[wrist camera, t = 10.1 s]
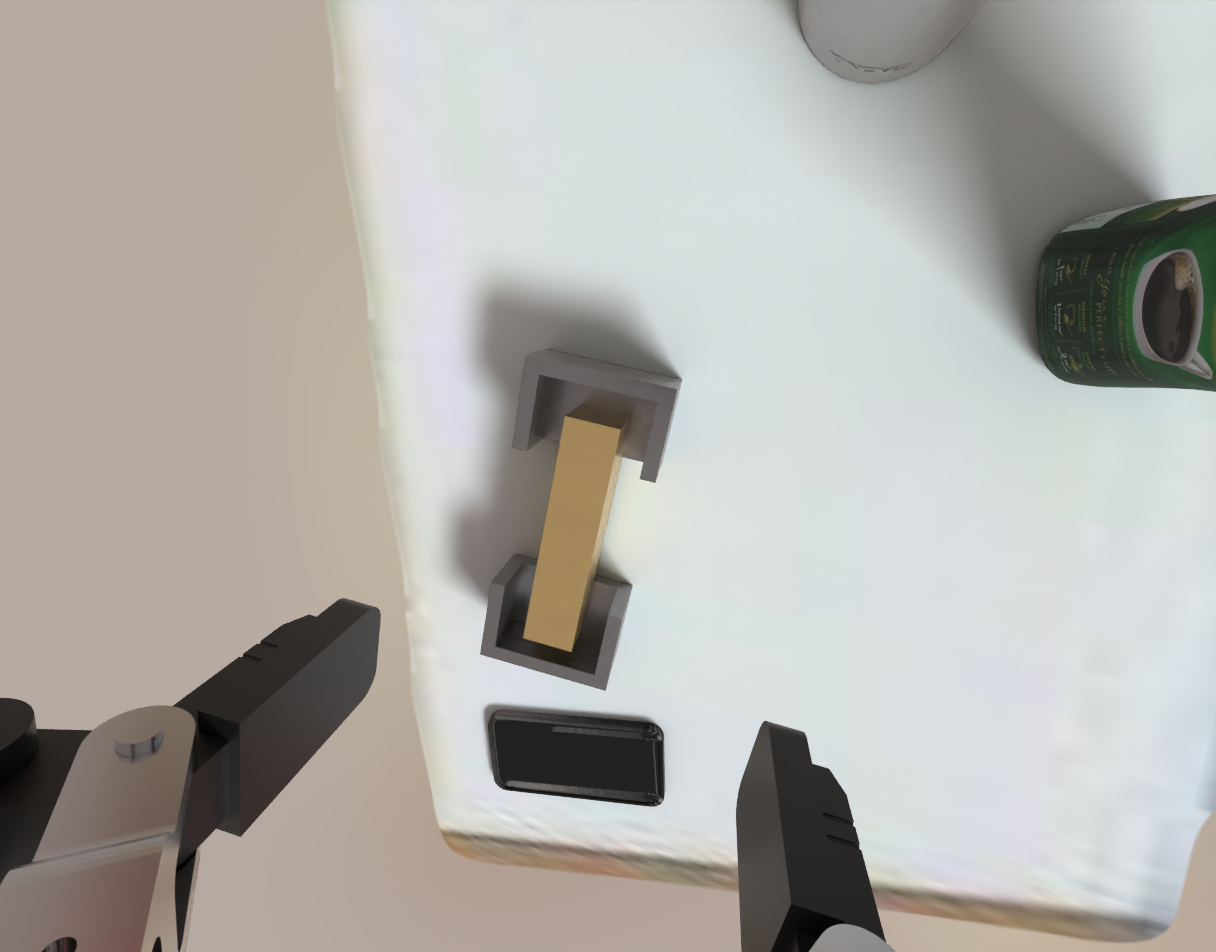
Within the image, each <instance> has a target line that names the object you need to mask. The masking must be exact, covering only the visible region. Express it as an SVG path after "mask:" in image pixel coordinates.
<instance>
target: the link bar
mask: <svg viewBox="0 0 1216 952" xmlns="http://www.w3.org/2000/svg"><path fill="white" fill-rule="evenodd" d="M631 417H632V415H629V414H625V413H621V412H617V411H613V410H609V409H605V408H601V407H597V406H593V405H588V404H584V403H582V404H581V405H579V406H578V407H577V408H575V409H574V410H572V411H571V412H570V413H568V414H567V415H566V416H565V418H564V424H563V429H562V434H561V439H560V445H559V450H558V455H557V461H556V466H555V471H554V477H553V482H552V487H551V492H550V498H549V503H548V508H547V514H546V519H545V524H544V529H543V535H542V540H541V545H540V551H539V556H538V561H537V567H536V572H535V577H534V582H533V588H532V593H531V598H530V604H529V609H528V614H527V619H526V625H525V630H524V635H523V638H525V639H528V640H532V641H535V642H538V643H542V644H545V645H549V646H552V647H556V648H559V649H562V650H566V651H569V652H572V649H573V647H574V644H575V642H576V640H577V637H578V635H579V632H580V630H581V628H582V625H583V623H584V620H585V618H586V615H587V611H588V607H589V602H590V598H591V593H592V589H593V585H594V580H595V576H596V571H597V567H598V563H599V558H600V554H601V549H602V545H603V540H604V536H605V532H606V527H607V523H608V518H609V514H610V510H611V505H612V501H613V496H614V492H615V487H616V483H617V479H618V474H619V470H620V465H621V461H622V456H623V452H624V448H625V443H626V439H627V434H628V430H629V426H630V421H631Z"/></svg>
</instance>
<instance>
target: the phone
mask: <svg viewBox="0 0 1216 952" xmlns="http://www.w3.org/2000/svg"><path fill="white" fill-rule="evenodd" d="M488 731H489V740H490V749H491V757H492V766H493V775H494V780H495V783H496V784H497V785H498V786H499V787H500V788H502V789H504V790H509V791H518V792H527V793H536V794H545V795H553V796H562V797H571V798H580V799H589V800H597V801H606V802H615V803H624V804H633V805H642V806H650V807H651V806H658V805H660V804H661V803H662V802H663V800H664V793H665V770H664V734H663V731H662V729H661V728H660V727H659V726H657V725H655V724H652V723H645V722H634V721H622V720H611V719H599V718H588V717H576V716H565V715H553V714H542V713H530V712H519V711H507V710H498V711H496V712H494V713H493V714H492V716H491V718H490V720H489V722H488Z"/></svg>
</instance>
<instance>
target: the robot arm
mask: <svg viewBox="0 0 1216 952" xmlns="http://www.w3.org/2000/svg"><path fill="white" fill-rule="evenodd" d="M986 1H987V0H798V12H799V21H800V25H801V28H802V32H803V35H804V38H805V41H806V43H807V44H808V46H809V48H810V49H811V51H812V53H813V54H814V56H815V57H816V58H817V59H818V60H819V61H820V62H821V63H822V64H823V65H824V66H825V67H826V68H827V69H828V70H830V71H831V72H833V73H835V74H837V75H838V76H840V77H842V78H845V79H848V80H852V81H855V82H859V83H880V82H885V81H891V80H895V79H898V78H900V77H903V76H905V75H908V74H910V73H913V72H914V71H916V70H917V69H919V68H920V67H922V66H923V65H925V64H927V63H928V62H930V61H931V60H932V59H933V58H934V57H935V56H936V55H937V54H938V53H940V52H941V51H942V50H943V49H944V48H945V47H946V46H947V45H948V44H949V43H950V41H951V40H952V39H953V38H954V37H955V36H956V35H957V34H958V32H959V31H960V30H961V29H962V28H963V27H964V26H965V25H966V23H967V22H968V21H969V20H970V19H971V18H972V17H973V16H974V15H975V14H976V13H977V12H978V10H979V9H980V8H981V7H982V6H983V5H984V4H985V3H986ZM380 616H381V615H380V610H379V609H378V608H376V607H373V606H370V605H366V604H363V603H359V602H356V601H352V600H349V599H345V598H343V599H339V600H338V601H336V602H335V603H334V604H332V605H331V606H330V607H329V608H327V609H326V610H325V611H323V612H322V613H321V614H320V615H319V616H317V617H315V616H312V615H307V616H304V617H302V618H299V619H297V620H294V621H292V622H289V623H286V624H284V625H282V626H280V627H279V628H278V629H276V630H275V631H273V632H272V633H271V634H270V635H268V636H267V637H265V638H264V639H263V640H261V643H260V644H256V645H255V646H253V647H252V648H251V649H249V650H248V651H247V652H245V653H244V654H243V657H242V658H241V657H238V658H237V659H236V660H234V661H233V662H232V663H230V664H229V665H228V666H226V667H225V668H224V669H222V670H221V671H219V672H218V673H217V674H215V675H214V676H213V677H211V678H210V679H209V680H207V681H206V682H205V683H203V684H202V685H200V686H199V687H198V688H196V689H195V690H194V691H192V692H191V693H190V694H188V695H187V696H186V697H184V698H183V699H182V700H180V701H179V702H178V703H176V704H175V705H174V706H149V707H144V708H138V709H135V710H131V711H128V712H125V713H123V714H120V715H117V716H115V717H114V718H111V719H109V720H108V721H106V722H104V723H103V724H101V725H99V726H98V727H97V728H95V729H94V730H93V731H90V730H89V731H88V730H54V729H36V723H35V717H34V711H33V709H32V707H31V706H30V705H28V704H27V703H26V702H23V701H21V700H17V699H11V698H0V952H186V947H187V940H188V933H189V927H190V920H191V914H192V907H193V900H194V893H195V887H196V880H197V873H198V867H199V861H200V845H201V844H202V843H203V842H204V841H205V839H207V837H208V836H209V835H210V834H211V833H212V832H213V831H214V830H215V829H219V830H222V831H226V832H228V833H231V834H234V835H237V836H240V837H241V836H242V835H243V833H244V832H245V831H246V830H247V829H248V828H249V827H250V826H251V825H252V823H253V822H254V821H255V820H256V819H257V818H258V817H259V816H260V814H261V813H262V812H263V811H264V810H265V809H266V808H267V807H268V806H269V804H270V803H271V802H272V801H273V800H274V799H275V798H276V797H277V795H278V794H279V793H280V792H281V791H282V790H283V789H284V787H285V786H286V785H287V784H288V783H289V782H290V781H291V780H292V779H293V777H294V776H295V775H296V774H297V773H298V772H299V771H300V769H301V768H302V767H303V766H304V765H305V764H306V763H307V762H308V761H309V760H310V758H311V757H312V756H313V755H314V754H315V753H316V752H317V751H318V749H319V748H320V747H321V746H322V745H323V744H324V742H326V740H327V739H328V738H329V737H330V736H331V735H332V734H333V733H334V731H335V730H336V729H337V728H338V727H339V726H340V725H341V724H342V723H343V721H344V720H345V719H346V718H347V717H348V716H349V714H351V712H352V711H353V710H354V709H355V708H356V707H357V706H358V705H359V703H360V702H361V701H362V700H363V699H364V697H365V696H366V694H367V693H368V691H369V689H370V687H371V684H372V682H373V680H374V677H375V673H376V665H377V654H378V642H379V630H380ZM853 822H854V821H853V818H852V814H851V810H850V806H849V803H848V799H847V795H846V794H845V792H844V791H843V789H842V788H841V786H840V785H839V783H838V782H837V780H836V779H835V777H834V776H833V774H832V773H831V771H830V770H829V769H828V768H824V767H821V766H818V765H814V764H812V761H811V756H810V752H809V747H808V742H807V738H806V735H805V733H804V732H802V731H799V730H795V729H792V728H788V727H785V726H781V725H778V724H774V723H771V722H767V721H764V722H763V723H762V725H761V727H760V730H759V732H758V735H757V738H756V741H755V744H754V746H753V749H752V752H751V755H750V758H749V761H748V763H747V766H746V769H745V772H744V775H743V777H742V780H741V784H740V788H739V793H738V799H737V808H736V826H737V850H738V875H739V898H740V922H741V947H742V952H895V951H894V949H893V948H891V946H889V945H888V944H887V943H886V940H885V937H884V933H883V930H882V926H881V922H880V918H879V915H878V911H877V907H876V903H875V900H874V896H873V892H872V889H871V885H870V881H869V877H868V874H867V870H866V866H865V862H864V859H863V855H862V851H861V850H860V849H859V840H858V836H857V832H856V829H855V827H853Z"/></svg>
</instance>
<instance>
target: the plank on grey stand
mask: <svg viewBox="0 0 1216 952" xmlns="http://www.w3.org/2000/svg"><path fill="white" fill-rule="evenodd" d="M681 381H682V379H677V378H673V377H669V376H664V375H660V374H655V373H651V372H646V371H642V370H638V369H633V368H629V367H624V366H620V365H615V364H611V363H607V362H602V361H598V360H593V359H589V358H584V357H580V356H576V355H571V354H567V353H562V352H558V351H554V350H549V349H548V350H544V351H539V352H535V353H531V354H527V355H526V359H525V365H524V372H523V378H522V385H521V391H520V398H519V404H518V411H517V417H516V424H515V431H514V437H513V444H512V448H517V449H521V450H525V451H527V450H529V449H530V448H531V447H533V446H534V445H535V444H536V443H538V442H539V441H540V440H542V439H543V438H547V439H551V440H555V441H559V442H560V439H561V434H562V429H563V424H564V418H565V416H566V415H567V414H568V413H570V412H571V411H572V410H574V409H575V408H577V407H578V406H579V405H581V404H582V403H584V404H588V405H593V406H597V407H601V408H605V409H609V410H613V411H617V412H621V413H625V414H629V415H632V417H631V421H630V426H629V430H628V434H627V439H626V443H625V448H624V452H623V456H622V457H625V458H629V459H633V460H637V461H641V462H644V463H643V467H642V471H641V476H640V479H642V480H646V481H650V482H654V483H655V482H656V479H657V476H658V473H659V470H660V467H661V464H662V460H663V456H664V452H665V448H666V444H667V440H668V435H669V431H670V427H671V423H672V419H673V415H674V410H675V406H676V402H677V398H678V394H679V390H680V386H681ZM537 561H538V560H536V559H532V558H528V557H525V556H521V555H517V554H514V555H513V556H512V558H511V559H510V560H509V561H508V563H507V564H506V565H505V566H504V568H503V569H502V570H501V571H500V572H499V574H498V575H497V576H496V577H495V579H494V580H493V581H492V582H491V587H490V594H489V600H488V607H487V613H486V620H485V626H484V633H483V639H482V646H481V653H480V654H481V655H484V656H488V657H491V658H494V659H498V660H501V661H505V662H508V663H512V664H515V665H519V666H522V667H526V668H529V669H532V670H536V671H539V672H543V673H546V674H550V675H553V676H557V677H560V678H564V679H567V680H570V681H574V682H577V683H581V684H584V685H588V686H591V687H595V688H598V689H601V690H605V691H606V687H607V684H608V680H609V676H610V673H611V669H612V666H613V662H614V659H615V655H616V652H617V648H618V643H619V639H620V635H621V631H622V627H623V623H624V619H625V614H626V610H627V606H628V602H629V598H630V594H631V589H632V585H629V584H625V583H622V582H618V581H614V580H611V579H607V578H603V577H599V576H595V580H594V585H593V589H592V593H591V598H590V602H589V607H588V611H587V615H586V618H585V620H584V623H583V625H582V628H581V630H580V632H579V635H578V637H577V640H576V642H575V644H574V647H573V649H572V652H569V651H566V650H562V649H559V648H556V647H552V646H549V645H545V644H542V643H538V642H535V641H532V640H528V639H525V638H523V635H524V630H525V625H526V619H527V614H528V609H529V604H530V598H531V593H532V588H533V582H534V577H535V572H536V567H537Z"/></svg>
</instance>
